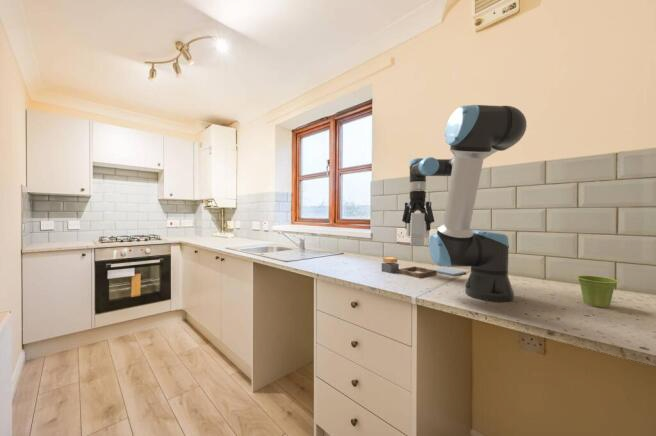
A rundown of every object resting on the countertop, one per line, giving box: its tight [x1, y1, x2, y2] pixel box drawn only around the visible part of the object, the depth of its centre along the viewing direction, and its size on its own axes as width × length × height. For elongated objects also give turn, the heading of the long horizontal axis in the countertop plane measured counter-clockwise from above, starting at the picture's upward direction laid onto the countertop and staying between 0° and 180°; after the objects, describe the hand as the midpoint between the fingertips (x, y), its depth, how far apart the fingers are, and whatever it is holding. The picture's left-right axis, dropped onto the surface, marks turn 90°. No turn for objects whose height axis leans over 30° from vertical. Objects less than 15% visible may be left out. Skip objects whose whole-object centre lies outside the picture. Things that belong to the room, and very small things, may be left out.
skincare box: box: [409, 212, 426, 247], centre depth 133 cm, size 8×7×16 cm
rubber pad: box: [435, 267, 467, 277], centre depth 136 cm, size 11×11×1 cm
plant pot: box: [576, 275, 619, 309], centre depth 88 cm, size 9×9×9 cm
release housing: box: [381, 262, 400, 274], centre depth 139 cm, size 6×6×4 cm
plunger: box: [382, 256, 398, 264], centre depth 139 cm, size 5×5×6 cm
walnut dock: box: [397, 266, 437, 279], centre depth 134 cm, size 12×13×2 cm
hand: (417, 236), depth 133 cm, fingers closed on skincare box, 10 cm apart
